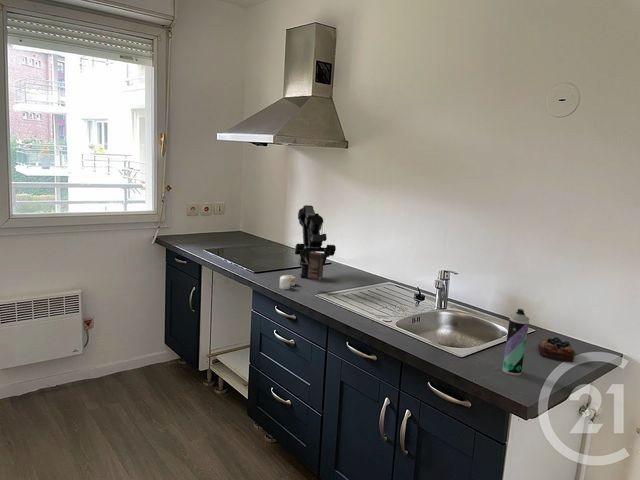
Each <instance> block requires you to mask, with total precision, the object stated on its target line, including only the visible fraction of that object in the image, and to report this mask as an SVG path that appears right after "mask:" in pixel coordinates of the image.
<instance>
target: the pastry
mask: <svg viewBox="0 0 640 480" xmlns="http://www.w3.org/2000/svg"><path fill="white" fill-rule="evenodd" d="M537 345H538V346H537V347H538V352H539V354H540V357H542V358H545V359H550V360H555V361H559V362H560V361H561V362H568V363H569V362H570V363H573V362H574V359H575V350H574V348H573V347H572V345H571V344H570V342H569V341H567V340H566V341H565V340H564V339H563V340H562V339H561V338H559V337H558V336H556V337H553V338H551V337H547V338H546V337H543V338H542V339H541V340H540V341H539V344H537Z"/></svg>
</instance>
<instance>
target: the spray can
mask: <svg viewBox="0 0 640 480" xmlns="http://www.w3.org/2000/svg"><path fill="white" fill-rule="evenodd" d="M509 316H510V317H509V320H508V321H509V322H508V326H507V327H508V328H507V334H506V343H505V349H504V356H503V357H504V358H503V362H502V372H504V373H505V374H507V375H510V376H521V375H522V373H523V372H522V371H523V365H524V359H525V353H526V345H527V338H528V331H529V326H530V317H528V316H527V315H526V313H525V310H524V309H523V308H518V309H517V311H516V312H515V313H513V314H510V315H509Z"/></svg>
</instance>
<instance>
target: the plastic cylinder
mask: <svg viewBox="0 0 640 480" xmlns="http://www.w3.org/2000/svg"><path fill="white" fill-rule="evenodd" d="M290 283H291V277H288V276H282V275H280V276H279V289H280V290H290V289H291V286H290Z"/></svg>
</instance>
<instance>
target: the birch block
mask: <svg viewBox="0 0 640 480" xmlns="http://www.w3.org/2000/svg"><path fill="white" fill-rule="evenodd" d="M281 276H288V277H291V283H290V287H292V286H295V285H296V276H294V275H292V274H284V275H281Z"/></svg>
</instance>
